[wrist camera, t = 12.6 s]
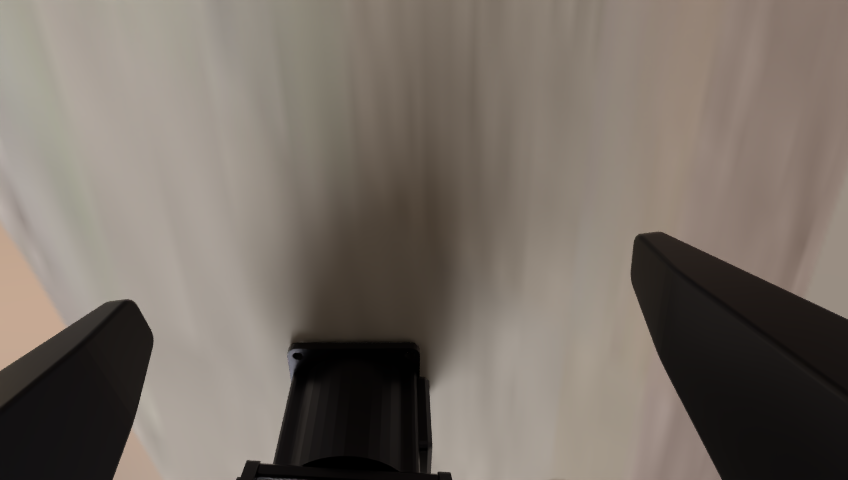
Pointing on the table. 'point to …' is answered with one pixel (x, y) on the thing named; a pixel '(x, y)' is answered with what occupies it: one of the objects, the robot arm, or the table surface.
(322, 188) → the table surface
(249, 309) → the table surface
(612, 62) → the table surface
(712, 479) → the table surface
